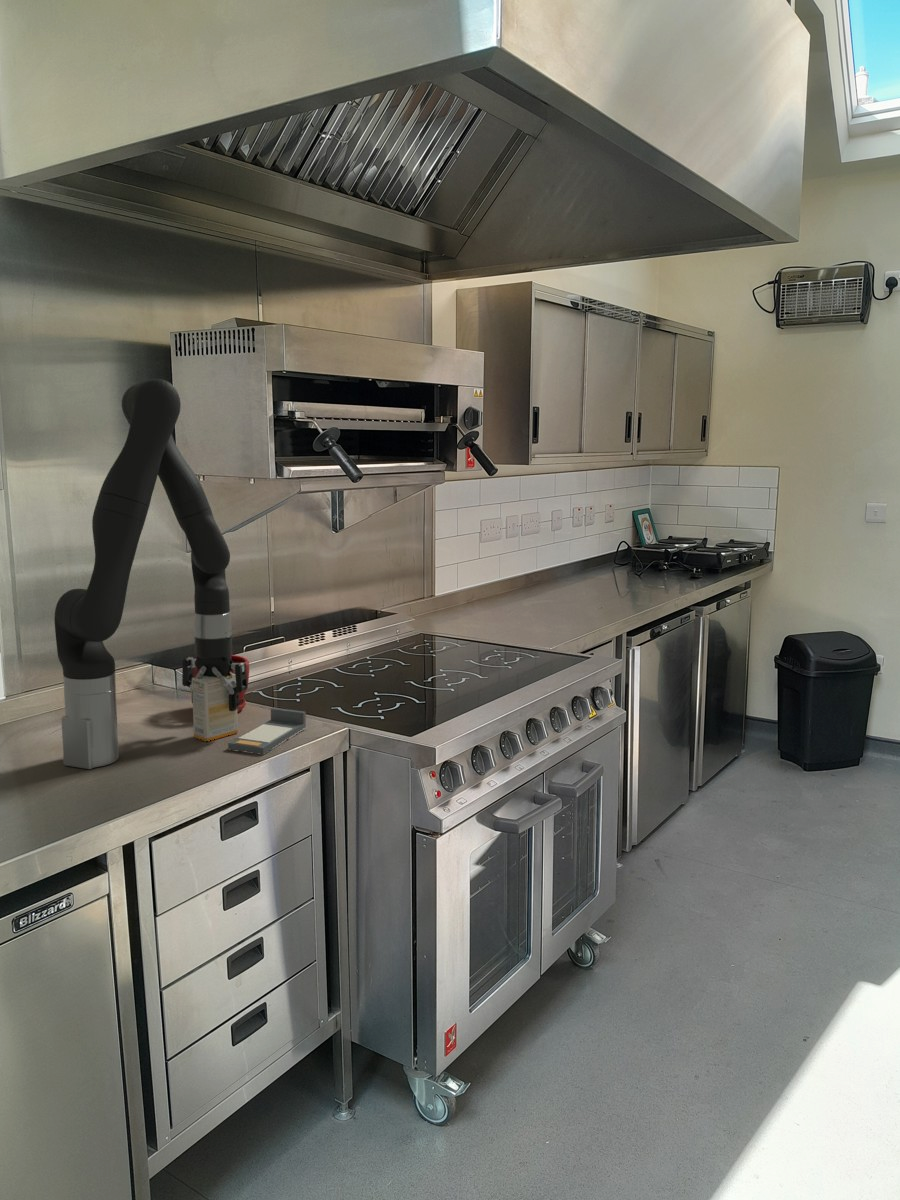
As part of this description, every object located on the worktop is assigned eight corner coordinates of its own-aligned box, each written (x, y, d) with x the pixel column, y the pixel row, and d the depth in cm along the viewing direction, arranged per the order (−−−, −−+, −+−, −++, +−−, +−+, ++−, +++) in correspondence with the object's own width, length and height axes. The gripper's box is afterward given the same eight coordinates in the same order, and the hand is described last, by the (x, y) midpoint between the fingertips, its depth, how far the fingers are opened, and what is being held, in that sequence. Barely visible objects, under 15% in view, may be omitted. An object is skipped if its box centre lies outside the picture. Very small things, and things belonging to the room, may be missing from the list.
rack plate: (263, 755, 179) (263, 735, 178) (228, 750, 181) (227, 731, 180) (305, 729, 195) (305, 711, 195) (273, 725, 198) (273, 707, 197)
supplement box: (224, 728, 195) (223, 670, 192) (238, 733, 192) (237, 674, 189) (192, 737, 188) (190, 677, 186) (206, 742, 185) (204, 681, 183)
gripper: (172, 634, 185) (176, 709, 188) (233, 639, 181) (236, 717, 184) (193, 627, 192) (196, 700, 195) (252, 632, 188) (254, 706, 191)
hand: (215, 708), depth 190 cm, fingers open, 8 cm apart
